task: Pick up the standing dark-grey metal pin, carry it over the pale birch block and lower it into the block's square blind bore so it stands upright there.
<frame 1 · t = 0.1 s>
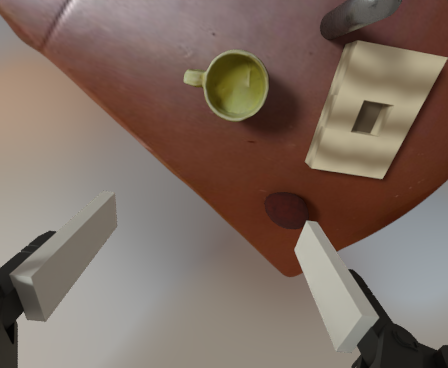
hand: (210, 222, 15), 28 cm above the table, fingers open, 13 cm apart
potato: (282, 201, 46), on the table
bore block: (359, 116, 38), on the table
mug: (226, 83, 36), on the table
pin: (332, 25, 32), on the table
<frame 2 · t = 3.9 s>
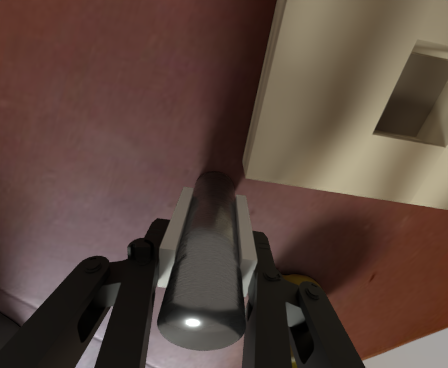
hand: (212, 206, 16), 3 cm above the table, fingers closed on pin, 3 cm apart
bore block: (391, 95, 16), on the table
pin: (214, 189, 19), on the table, touching gripper
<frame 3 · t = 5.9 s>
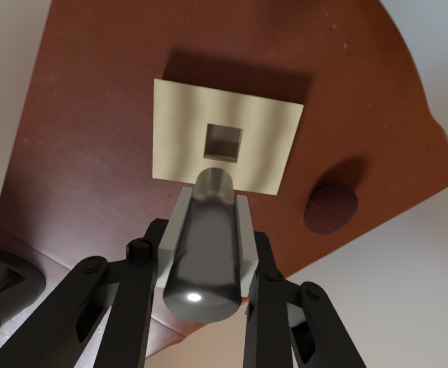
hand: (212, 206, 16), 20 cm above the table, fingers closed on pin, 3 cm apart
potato: (320, 200, 39), on the table
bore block: (222, 138, 34), on the table
pin: (214, 184, 20), point 15 cm above the table, touching gripper
when the fingers open (5 cm above the table, at t = 8.3 s): pin stays where it is, resting on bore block.
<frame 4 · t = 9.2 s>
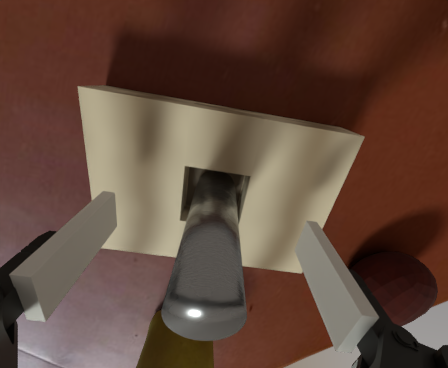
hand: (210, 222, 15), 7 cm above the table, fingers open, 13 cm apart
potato: (364, 267, 26), on the table
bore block: (215, 181, 21), on the table
mug: (181, 326, 31), on the table
pin: (215, 187, 20), point 1 cm above the table, touching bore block
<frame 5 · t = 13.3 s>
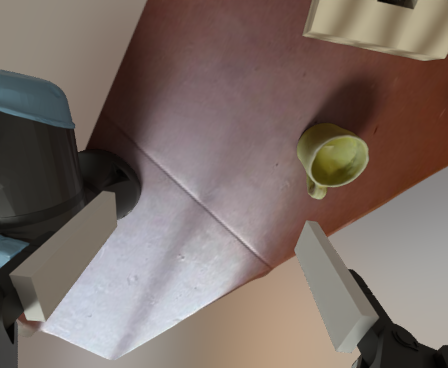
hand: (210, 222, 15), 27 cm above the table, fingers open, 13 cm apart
mug: (314, 154, 40), on the table
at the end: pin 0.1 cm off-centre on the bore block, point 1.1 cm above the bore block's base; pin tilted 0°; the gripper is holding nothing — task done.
